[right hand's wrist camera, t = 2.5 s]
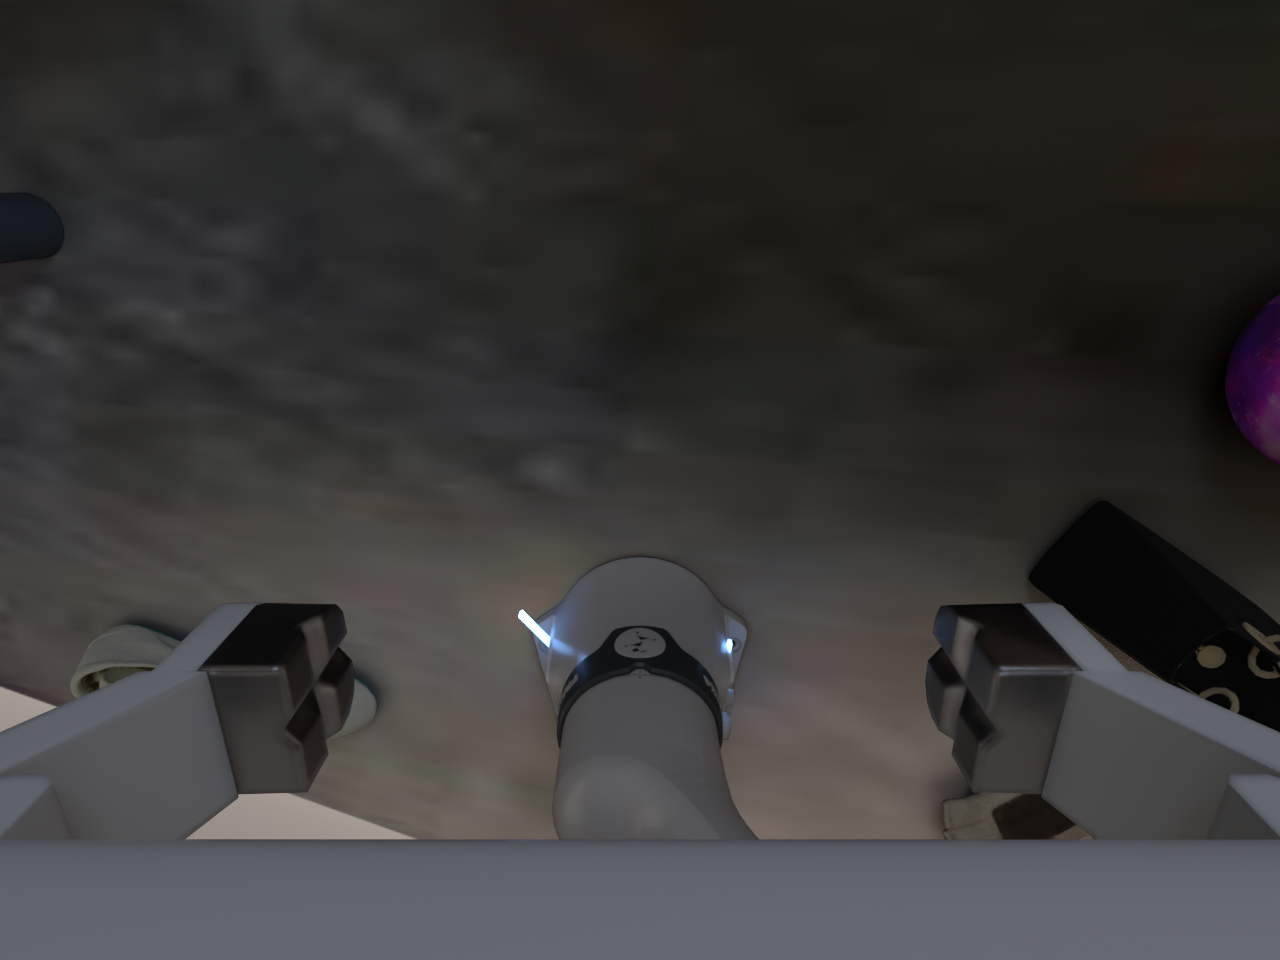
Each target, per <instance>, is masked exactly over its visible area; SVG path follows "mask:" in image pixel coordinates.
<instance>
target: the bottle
mask: <svg viewBox="0 0 1280 960" xmlns="http://www.w3.org/2000/svg"><path fill="white" fill-rule="evenodd" d="M62 242H63V227H62V223H61V221H60V219H59V217H58V215H57V213H56V212H55V211H54V209H53V208H52V207H51V206H50V205H49V204H48V203H46V202H45V201H44V200H42V199H41V198H39V197H37V196H35V195H32V194H28V193H0V264H1V263H9V262H17V261H25V260H32V259H40V258H47V257H50V256H52V255H54V254H55V253H56V252H57V251H58V250H59V249H60V247H61V245H62Z"/></svg>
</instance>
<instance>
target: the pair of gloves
mask: <svg viewBox="0 0 1280 960" xmlns="http://www.w3.org/2000/svg"><path fill="white" fill-rule="evenodd" d="M971 791H972V790H971ZM973 793H974V794H973V795H969V796H966V797H963V798H953V799H950V800H944V801H943V802H942V808H943V823H944V826H945V829H944V830H943V834H944V836H945V840H1078V839H1080V838H1082V837H1085V836H1088V835H1089V834H1088V833H1087V832H1085V831H1084V830H1083V829H1081V828H1080V827H1079V826H1078V825H1076V824H1075V823H1074V822H1072V821H1071V820H1070V819H1069V818H1067V817H1066V816H1065V815H1064V814H1062V813H1061V812H1060V811H1058V810H1057V809H1056V808H1055V807H1053V806H1052V805H1051V804H1049V803H1048V802H1047V801H1046V800H1044V799H1043V798H1042V797H1041V796H1042V794H1017V793H980V792H973Z"/></svg>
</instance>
